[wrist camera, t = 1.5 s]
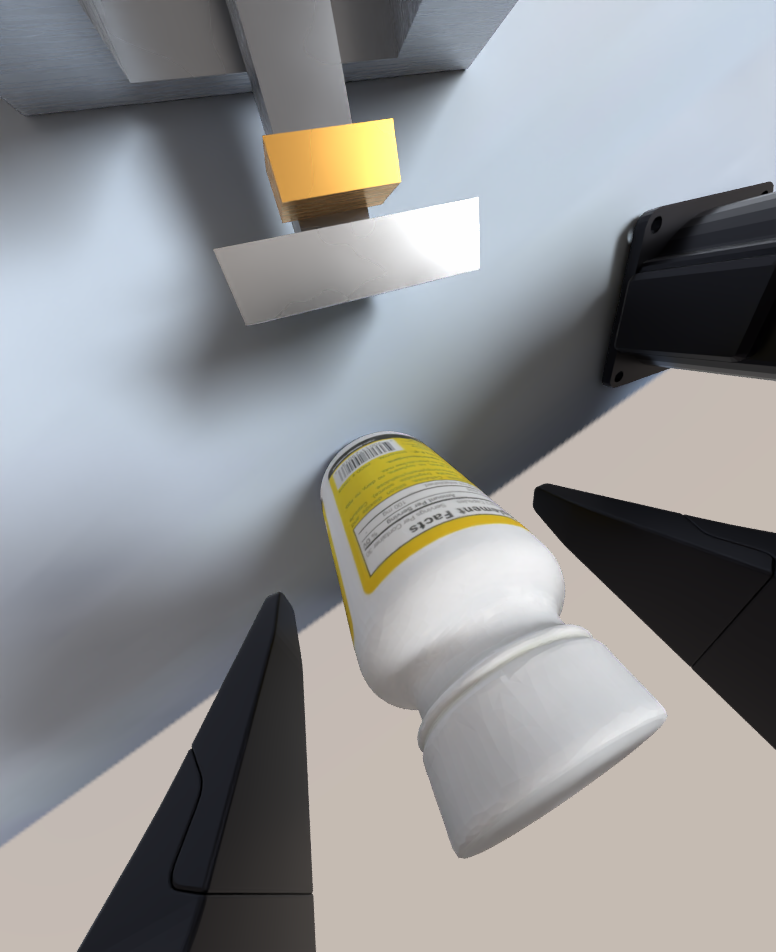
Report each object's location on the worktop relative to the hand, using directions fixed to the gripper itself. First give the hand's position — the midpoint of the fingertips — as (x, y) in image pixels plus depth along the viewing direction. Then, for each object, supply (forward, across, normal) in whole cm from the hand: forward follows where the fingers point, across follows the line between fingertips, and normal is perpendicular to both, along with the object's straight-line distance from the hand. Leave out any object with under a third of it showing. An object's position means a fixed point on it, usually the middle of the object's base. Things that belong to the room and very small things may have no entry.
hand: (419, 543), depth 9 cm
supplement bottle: (+4, 0, 0) cm, 4 cm away
